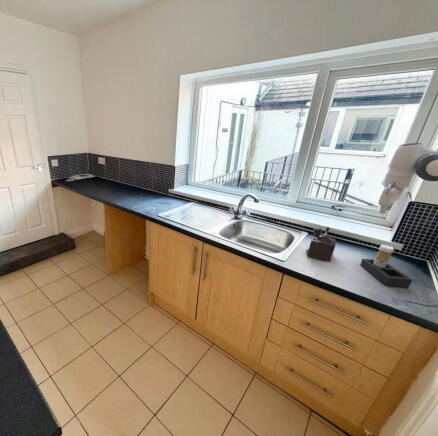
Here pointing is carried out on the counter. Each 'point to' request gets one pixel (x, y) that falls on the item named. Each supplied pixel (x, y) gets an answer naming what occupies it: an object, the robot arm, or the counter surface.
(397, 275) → the holder
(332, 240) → the brown coffee grinder
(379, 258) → the sprinkles bottle
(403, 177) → the robot arm
